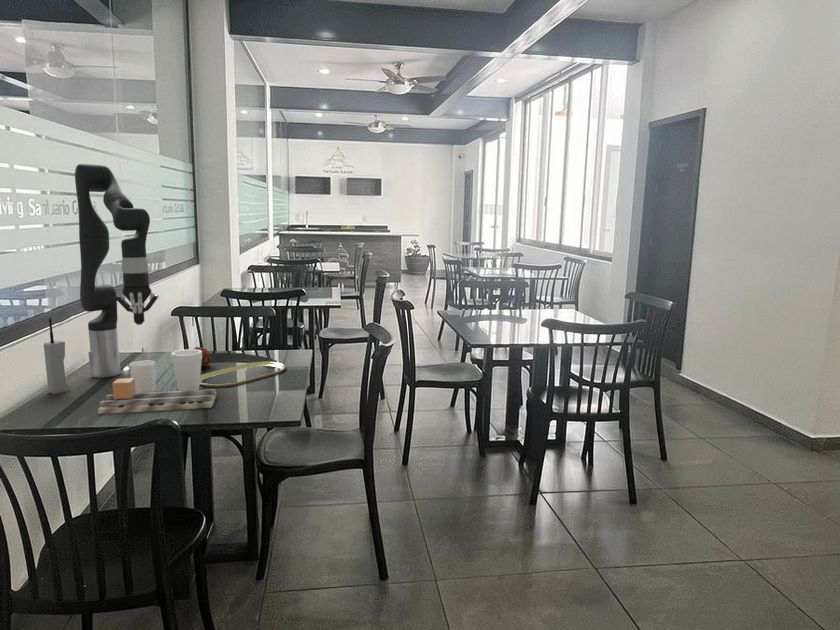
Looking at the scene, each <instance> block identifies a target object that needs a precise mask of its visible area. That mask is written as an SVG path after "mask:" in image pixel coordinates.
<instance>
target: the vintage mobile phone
mask: <svg viewBox="0 0 840 630" xmlns="http://www.w3.org/2000/svg"><path fill="white" fill-rule="evenodd" d="M48 323H49V337H50V338H49V339H50V341H49V342H44V343H43V351H44V352H43V353H44V361H45V370H46V371H45V372H46V378H47V379H46V380H47V381H46V382H47V389H48V392H49V393H50V394H53V395H56V394H61V393H65V392H69V391H70V386H69V385H68V384H67V382H66V381H67V380H66V372H65V362H64V361H65V357H66V342H65V341H62V340H56V341H55V339H54V333H53V325H52V324H53V323H52V318H50V317H49V318H48Z"/></svg>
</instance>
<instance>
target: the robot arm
mask: <svg viewBox="0 0 840 630" xmlns="http://www.w3.org/2000/svg"><path fill="white" fill-rule="evenodd" d="M74 183H75V189H76V190H75V191H76V199H77V208H78V228H79V229H78V235H79V236H78V239H79V240H78V241H79V250H80V251H79V254H80V286H79V299H80V305H81V308H82V309H83V310H84V311H85V312H87V313H89V312H90V313H91V312H98V311H99V312H100V311H101V312H100V314H99V315H98V316H97V317H95V318H94V319H91V320H90V321H88V323H87V325H88V326H87V329H88V339H89V349H90V350H89V351H88V353H87V354H88V362H89V363H88V365H89V373H90V378H98V379H99V378H100V379H101V378H109V377H110V378H111V377H115V376H118V375H120V374H121V359H120V348H119V346H120V345H119V337H118V303H119V304H120V305H121V306H122V307H123V308H124V309H125V311H126V312H130V313H132V314H133V322H134V324H136V325H137V326H139V325H140V326H141V325H143V323H144V322H145V313H146V312H148V311H149V310H150V309H151V308H152V307H153V305H154V304H155V303H156V301H157V300H158V299H159V297H160V296H159V295H158V294H155V293H153V292H152V289H151V288H150V277H149V275H150V274H149V264H148V259H147V247H146V244H147V243H146V242H147V237H148V232H149V228H150V224H151V223H150V222H151V218H150V215H149V212H148V211H147V210H145V209H144V208H140V207H139V208H137V207H136V208H135V207H134V205H133V202H132V201H131V200H130V199H129V198H128V197H127V196H126V195H125V194H124V192H123V191H122V189H121V187H120V185H119V183H118V181H117V178H116V177H115V175H114V172H113V171H112V170H111V169H110V168H109V166H107V165H103V164H91V163H89V164H88V163H78V164H77V165H76V167H75V168H74ZM91 192H92V193H104V194H103V197H102V198H103V199H102V201H103V204H104V206H105V208H106V209H107V210H108V211H109V212H110V213H111V216H112V221H113V225H114V227H115V228H116V229H117V230H119V231H121V232H122V231H123V232H124V231H125V232H126V231H127V232H128V231H130V232H131V231H135V233H134V235H133V236H131V237H128V238H124V239H122V240H121V243H120V247H121V257H122V258H121V260H122V261H121V272H122V280H123V281H122V282H123V288H122V292H121V294H120V295H118V296H117V291H116V289H115V287H114V286H113V285H111V284H110V283H109V284H108V283H107V284H105V283H104V284H103V283H102V284H96V277H97V273H98V270H99V269H100V267H101V265H102V264H103V262H104V261H105V258H106V257H107V255H108V253H109V251H110V231H109V228H108V226H107V224H106V223H105V222H104V220H103V219H102V217H101V216H100V214H98V212H97V210H96V209H95V207H94V205H93V203H92V202H93V201H92V200H91V195H90V193H91ZM148 298H149V301H148V303H147V304H146V301H147V300H148ZM127 300H128V301H129V302H130V304H129V302H128V301H127ZM145 304H146V305H145Z"/></svg>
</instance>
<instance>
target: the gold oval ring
mask: <svg viewBox="0 0 840 630" xmlns="http://www.w3.org/2000/svg"><path fill="white" fill-rule="evenodd" d="M258 366H263V367H264V366H265V367H266V366H267V367H268V366H269V367H276V368H279V370H277V371H274V372H270V373H266V374H263V375H262V374H261V375H259V376H255V377H252V378H247V379H244V380H240V381H236V382H230V383H221V384H219V383H218V384H215V383H212V384H211V383H203V382H202V381H203V380H205V379H208V378H212V377H214V376H219V375H223V374H227V373H231V372H236V371H239V370H242V369H246V368H251V367H258ZM285 368H286V365H285V364H283V363H280V362H276V361H254V362H248V363H243V364H239V365H236V366H231V367H227V368H223V369H218V370H215V371H211V372H206V373H203V374H200V385H199V386H203V387H208V388H209V387H210V388H225V387H232V386H237V385H241V384H245V383H249V382H252V381H256V380H260V379H263V378H267V377H270V376H273V375H278V374H280V373H281V372H283V371H284V370H285Z"/></svg>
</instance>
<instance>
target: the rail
mask: <svg viewBox="0 0 840 630" xmlns="http://www.w3.org/2000/svg"><path fill="white" fill-rule="evenodd" d="M135 395H136V399H129V400H115V399H114V396H113V394H107V395H106V400H101V401H99V405H100V407H98V408H97V412H98V413H97V414H98V415H103V414H104V415H105V414H123V413H124V414H125V413H140V412H157V411H158V412H159V411H177V410H191V409H208V408H209V409H211V408H213V406H214V403H215V400H216V399H217V391H216V389H215V388H213V389H211V388H210V389H199V390H191V391H179V390H174V391H173V390H172V391H155V392H152V393H136V394H135Z"/></svg>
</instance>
